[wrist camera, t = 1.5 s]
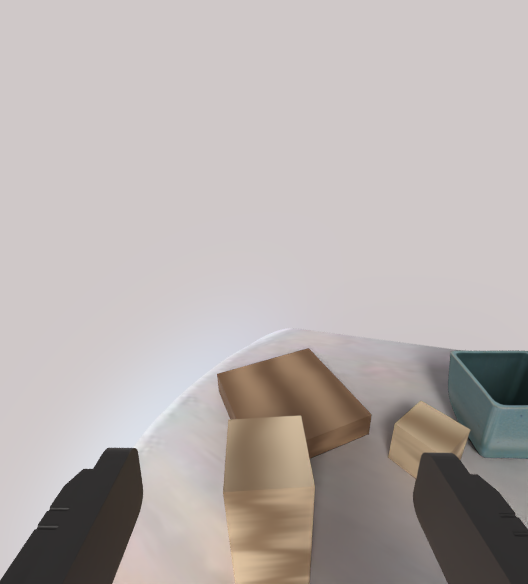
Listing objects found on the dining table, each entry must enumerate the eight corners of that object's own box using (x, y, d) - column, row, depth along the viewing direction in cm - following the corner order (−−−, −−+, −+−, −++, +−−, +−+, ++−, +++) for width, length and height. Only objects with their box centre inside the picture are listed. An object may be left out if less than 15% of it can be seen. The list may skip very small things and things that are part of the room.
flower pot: (433, 408, 40) (448, 349, 36) (506, 409, 39) (529, 349, 35) (471, 474, 32) (496, 407, 28) (563, 476, 31) (601, 408, 28)
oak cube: (413, 433, 37) (420, 400, 34) (458, 464, 33) (470, 429, 31) (388, 457, 34) (394, 423, 32) (434, 494, 30) (445, 458, 28)
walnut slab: (308, 364, 48) (308, 348, 47) (368, 434, 37) (371, 414, 35) (219, 391, 44) (217, 374, 42) (255, 480, 32) (254, 460, 31)
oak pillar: (298, 512, 29) (301, 415, 24) (308, 588, 24) (314, 486, 19) (238, 516, 29) (228, 419, 24) (236, 593, 24) (223, 492, 19)
